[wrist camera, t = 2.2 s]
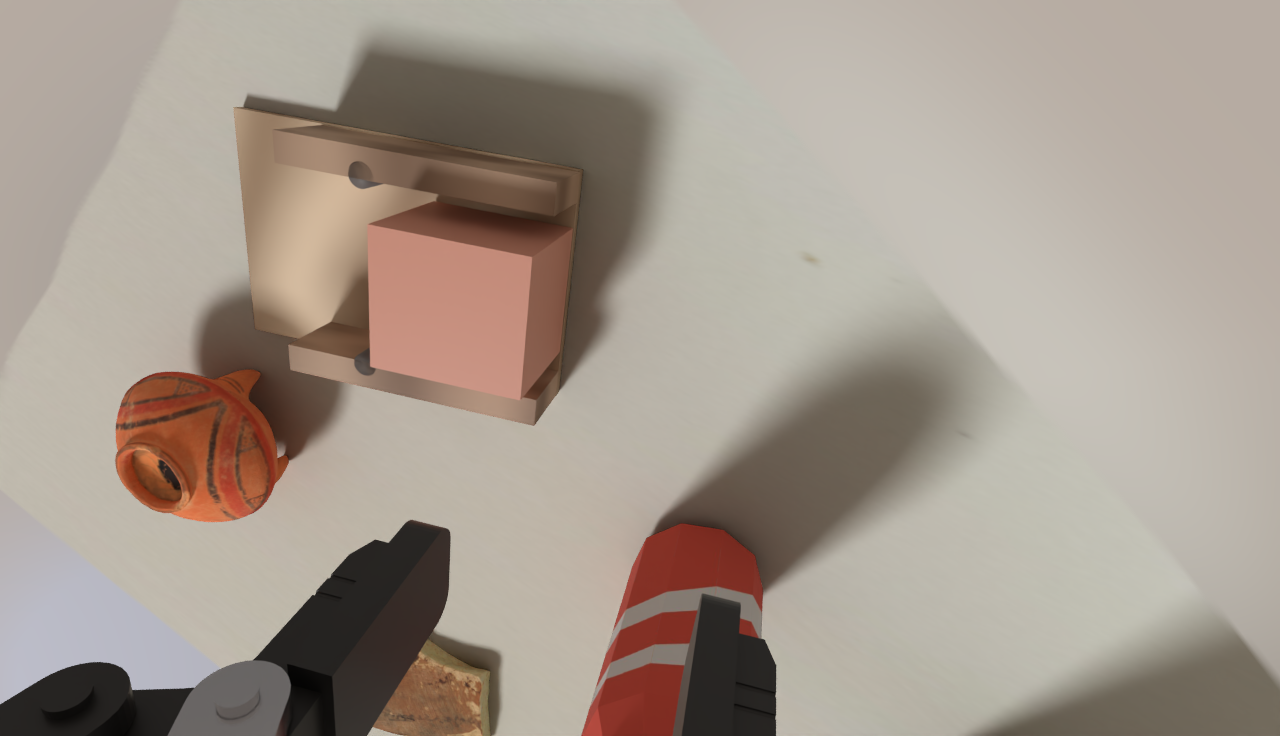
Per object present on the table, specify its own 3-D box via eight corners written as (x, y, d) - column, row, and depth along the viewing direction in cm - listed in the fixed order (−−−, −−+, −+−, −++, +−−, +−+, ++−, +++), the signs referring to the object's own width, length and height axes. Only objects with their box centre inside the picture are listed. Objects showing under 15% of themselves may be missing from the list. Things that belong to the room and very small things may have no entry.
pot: (350, 430, 34) (242, 526, 28) (289, 480, 38) (186, 571, 33) (227, 309, 32) (87, 386, 27) (178, 376, 37) (51, 455, 31)
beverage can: (706, 637, 35) (673, 887, 24) (611, 563, 34) (534, 786, 23) (789, 574, 33) (794, 820, 22) (689, 492, 32) (643, 705, 21)
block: (572, 228, 27) (532, 257, 23) (559, 351, 30) (520, 400, 25) (434, 201, 28) (367, 224, 23) (431, 323, 30) (370, 366, 26)
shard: (334, 696, 43) (317, 720, 42) (321, 605, 40) (302, 627, 39) (494, 734, 42) (483, 760, 40) (494, 643, 39) (481, 667, 37)
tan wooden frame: (583, 169, 27) (557, 181, 24) (559, 391, 31) (534, 426, 28) (242, 107, 29) (175, 110, 25) (262, 325, 33) (206, 351, 29)
